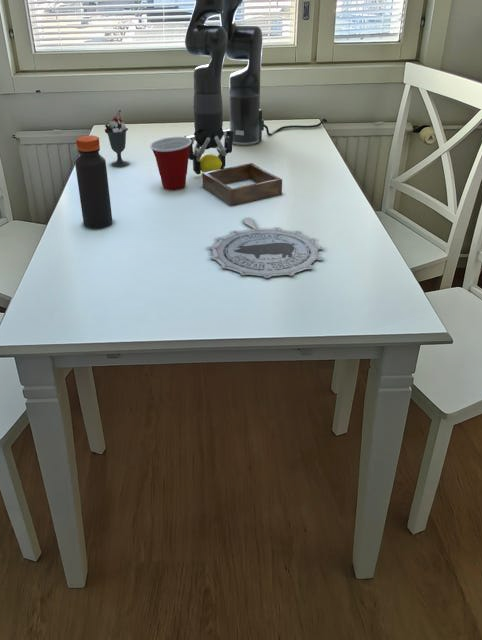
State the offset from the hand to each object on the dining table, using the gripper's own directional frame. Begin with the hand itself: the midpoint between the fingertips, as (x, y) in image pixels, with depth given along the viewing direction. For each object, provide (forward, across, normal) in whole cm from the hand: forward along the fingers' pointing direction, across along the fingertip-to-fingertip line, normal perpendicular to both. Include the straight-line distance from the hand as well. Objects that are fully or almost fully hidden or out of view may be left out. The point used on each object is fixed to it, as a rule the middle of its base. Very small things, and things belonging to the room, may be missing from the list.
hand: (209, 171), depth 175 cm
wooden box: (+1, +2, -15) cm, 15 cm away
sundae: (+1, -18, +22) cm, 28 cm away
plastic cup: (+1, -12, -3) cm, 13 cm away
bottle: (+1, -38, -16) cm, 41 cm away
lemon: (+1, 0, 0) cm, 1 cm away
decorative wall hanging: (+1, -11, -46) cm, 47 cm away
